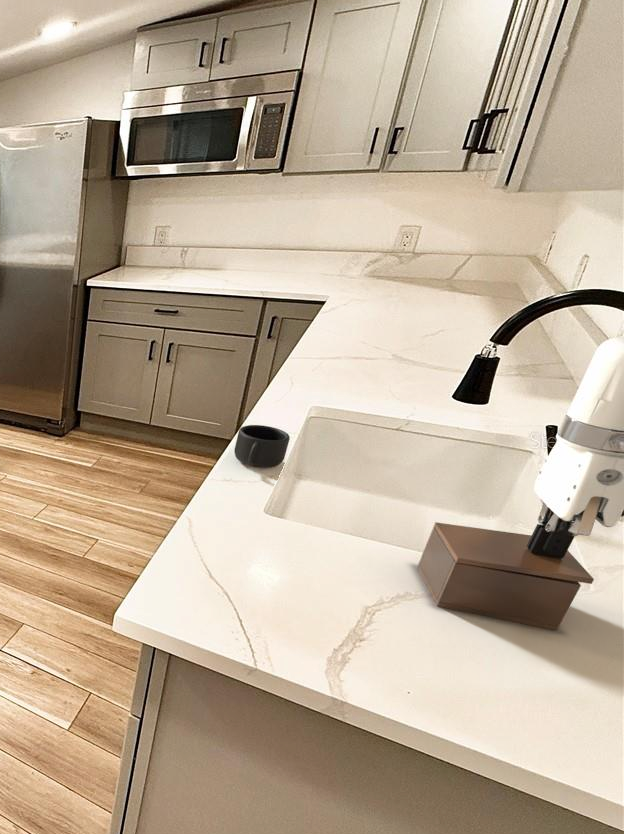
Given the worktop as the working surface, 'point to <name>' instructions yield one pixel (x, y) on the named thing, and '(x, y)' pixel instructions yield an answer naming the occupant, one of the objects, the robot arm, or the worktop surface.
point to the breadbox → (494, 589)
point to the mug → (261, 446)
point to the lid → (506, 553)
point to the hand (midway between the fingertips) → (544, 553)
